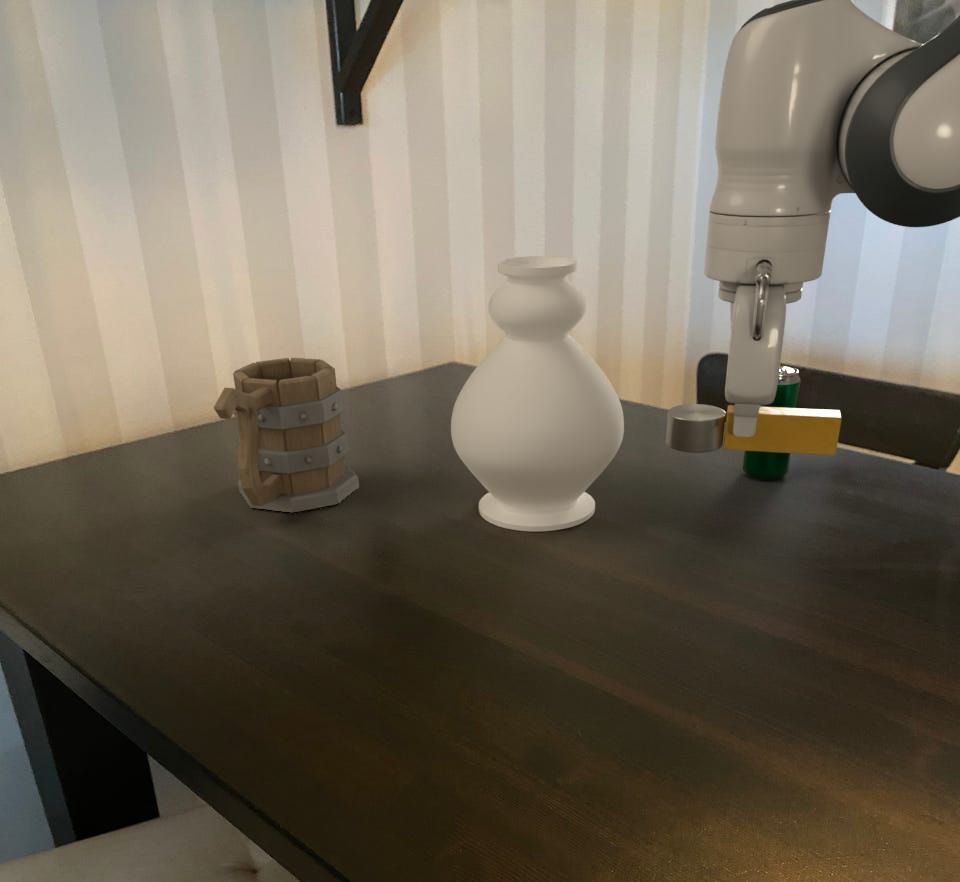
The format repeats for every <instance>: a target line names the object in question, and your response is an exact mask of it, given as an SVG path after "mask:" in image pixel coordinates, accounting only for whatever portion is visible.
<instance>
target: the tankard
mask: <svg viewBox="0 0 960 882" xmlns="http://www.w3.org/2000/svg"><path fill="white" fill-rule="evenodd" d="M232 375H233V382H234V387H224V388H223V389H222V391H221V393H220V395H219V397H218V398H217V400H216V402H215V404H214V405H213V410H214V411H215V413H216V414H217V415H218V417H219V419H221V420H222V419H224V420H230V419H231V418H232V416H234V417H235V418H236V419H237V421H236V422H237V430H238V438H237V445H238V456H237V470H238V476H239V479H238V480H237V485H238V490H239V493H240V495H241V494H242V495H241V496H242V498H243V497H244V498H243V499H244V501H245V500H246V501H245V502H246V504H247V505H248V506H249V508H250V509H252V508H258V509H266V510H267V509H268V510H274V511H282V512H292V513H293V512H298V511H303V510H308V509H313V508H316V507H323V506H328V505H334V504H337V503H339V504H341V501H342V500H343V499H344V500H346V499H347V498H348V497H349V496H351V495H352V494H353V493H354V492H356V491H357V490H358V489H359V488H360V481H359V476H358V475H357V474H356V473H355V472H354V471H353V470H352V469H351V468H350V467H349V466H348V465H347V464H346V463H345V457H346V456H347V455H349V454H350V447H349V437H348V435H349V434H347V433H346V432H345V431H344V430H343V429H342V425H341V416H340V415H341V414H342V413H344V412H345V411H346V406H345V395H344V391H343V390H342V389H341V388H340V387H338V386H337V379H336V378H337V377H336V369H335V367H333V366H332V365H330V364H329V363H328V362H326V361H325V360H324V359H319V358H318V359H317V358H303V357H290V359H289V357H282V358H276V359H275V358H274V359H267V360H260V361H255V362H252V363H249V364H247V365H245V366H242V367H240V368H238V369H236V370H234V372H233V373H232ZM356 489H357V490H356ZM355 490H356V491H355ZM353 491H354V492H353ZM352 492H353V493H352ZM351 493H352V494H351ZM350 494H351V495H350ZM348 495H349V496H348ZM347 496H348V497H347ZM346 497H347V498H346ZM345 498H346V499H345ZM344 500H343V501H344ZM343 501H342V502H343ZM258 509H257V510H258ZM266 510H265V511H266ZM274 511H273V512H274ZM282 512H281V513H282Z"/></svg>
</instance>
